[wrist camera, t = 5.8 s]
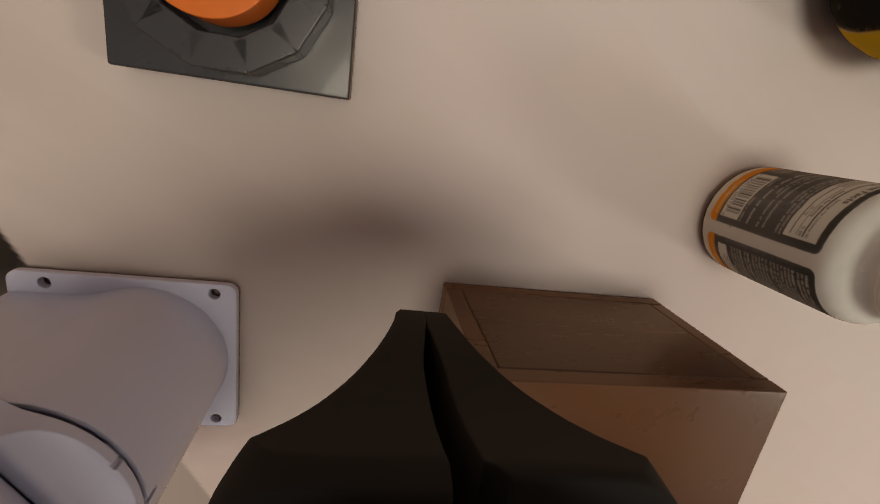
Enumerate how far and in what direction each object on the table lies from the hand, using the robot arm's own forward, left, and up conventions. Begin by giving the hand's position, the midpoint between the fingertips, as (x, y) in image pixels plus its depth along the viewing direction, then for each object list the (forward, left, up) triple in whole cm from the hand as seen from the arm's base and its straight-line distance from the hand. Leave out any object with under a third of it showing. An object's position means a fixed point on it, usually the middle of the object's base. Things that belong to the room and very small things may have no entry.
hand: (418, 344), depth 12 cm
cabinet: (+9, -9, -10) cm, 16 cm away
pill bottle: (+19, +3, -11) cm, 22 cm away
